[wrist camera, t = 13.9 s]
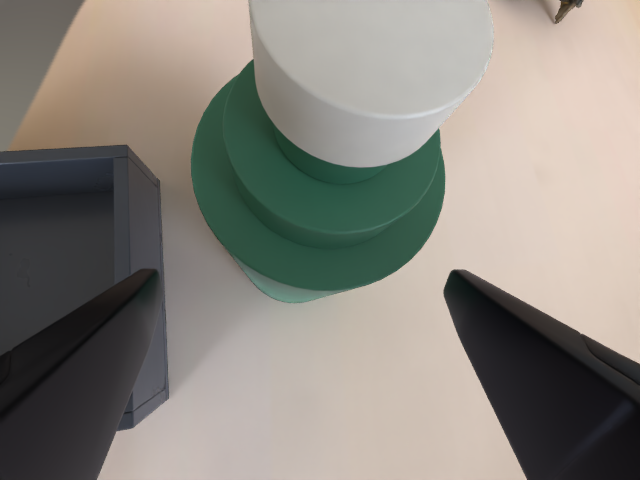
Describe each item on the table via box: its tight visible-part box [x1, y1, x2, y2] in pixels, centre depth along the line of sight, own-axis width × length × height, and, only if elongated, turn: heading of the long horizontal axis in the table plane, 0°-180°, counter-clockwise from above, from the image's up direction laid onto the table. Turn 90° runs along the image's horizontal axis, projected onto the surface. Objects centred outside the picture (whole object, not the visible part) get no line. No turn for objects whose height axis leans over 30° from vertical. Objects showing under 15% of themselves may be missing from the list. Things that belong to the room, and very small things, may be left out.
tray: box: [0, 145, 169, 431], centre depth 14 cm, size 12×12×4 cm
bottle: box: [191, 0, 494, 303], centre depth 11 cm, size 6×6×15 cm
